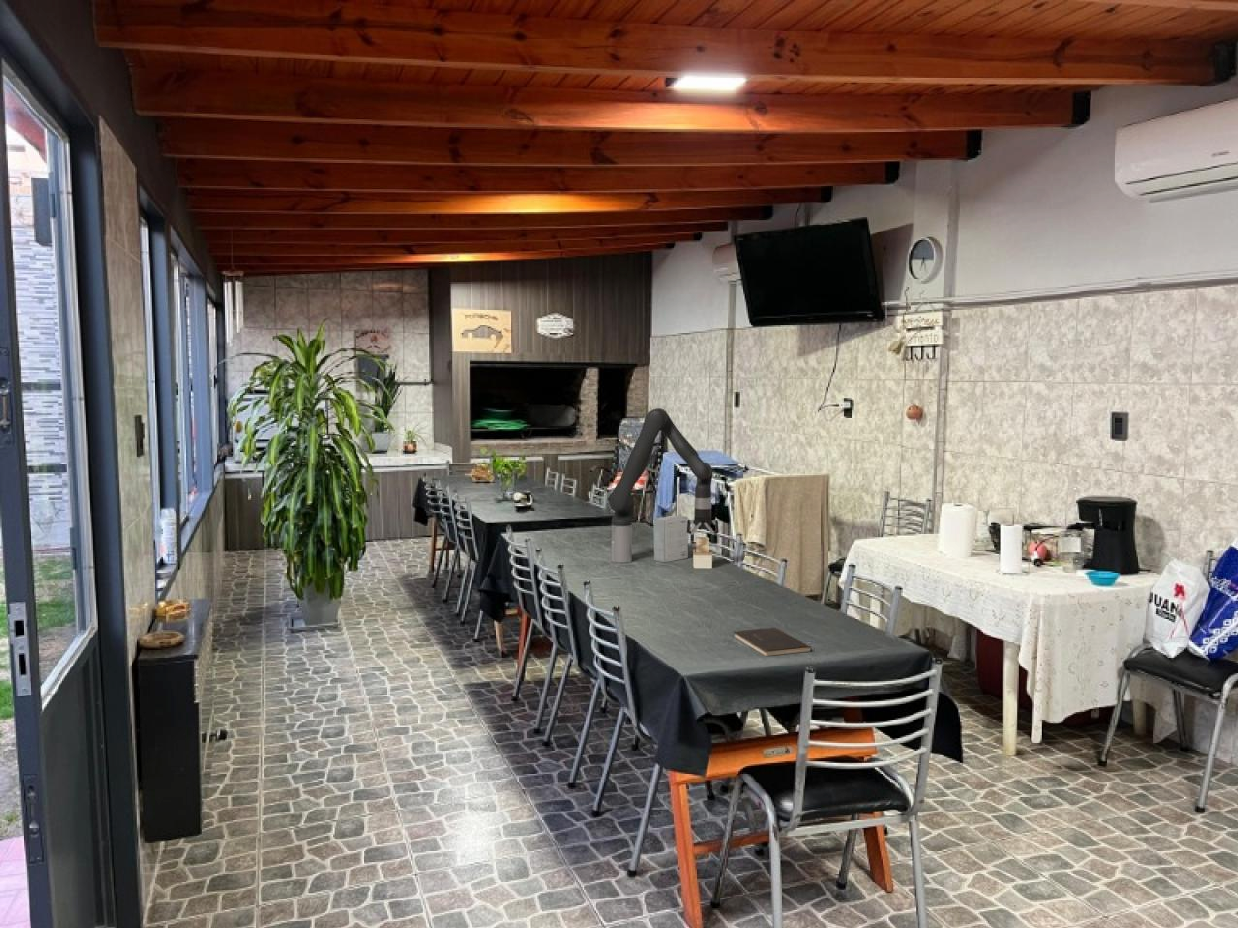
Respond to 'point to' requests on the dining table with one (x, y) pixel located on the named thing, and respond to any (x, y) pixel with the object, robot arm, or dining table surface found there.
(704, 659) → the dining table surface
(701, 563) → the tea tin
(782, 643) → the hardcover book
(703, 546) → the beech block
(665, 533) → the hard drive box
